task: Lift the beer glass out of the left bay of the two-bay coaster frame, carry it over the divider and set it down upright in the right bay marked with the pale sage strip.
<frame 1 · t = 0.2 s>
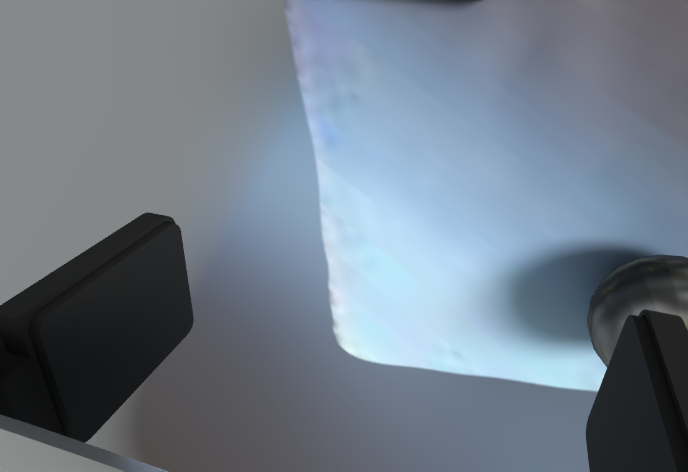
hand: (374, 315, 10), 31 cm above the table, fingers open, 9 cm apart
decorative stone: (651, 285, 40), on the table
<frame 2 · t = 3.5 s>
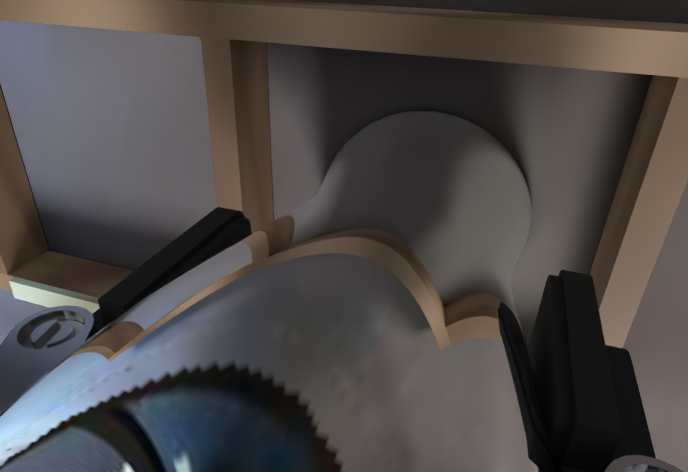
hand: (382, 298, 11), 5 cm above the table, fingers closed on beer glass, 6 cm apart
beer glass: (423, 208, 15), resting in coaster frame, touching gripper
coaster frame: (261, 184, 16), on the table
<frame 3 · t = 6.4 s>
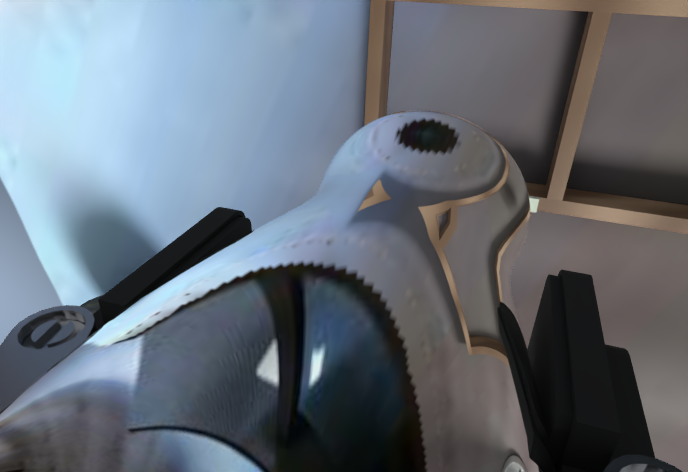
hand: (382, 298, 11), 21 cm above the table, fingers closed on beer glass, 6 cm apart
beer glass: (422, 207, 15), point 16 cm above the table, touching gripper
coaster frame: (573, 105, 27), on the table
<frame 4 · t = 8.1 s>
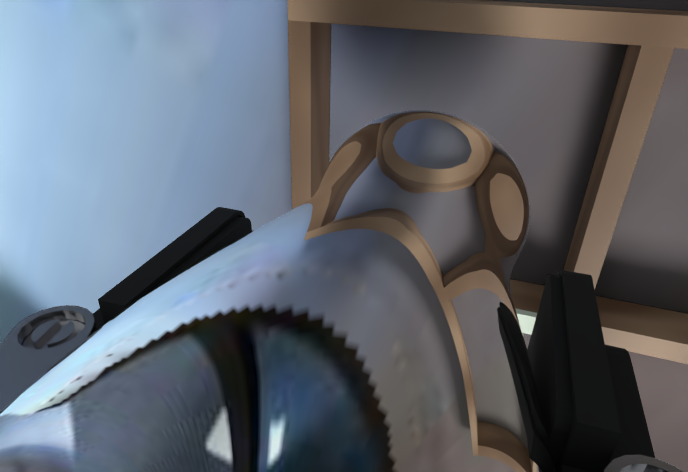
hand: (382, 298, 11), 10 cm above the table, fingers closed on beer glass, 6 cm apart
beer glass: (422, 207, 15), point 5 cm above the table, touching gripper
coaster frame: (601, 180, 18), on the table
when the fingers open (6 cm above the table, at t = 9.5 s): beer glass drops 1 cm, resting in coaster frame.
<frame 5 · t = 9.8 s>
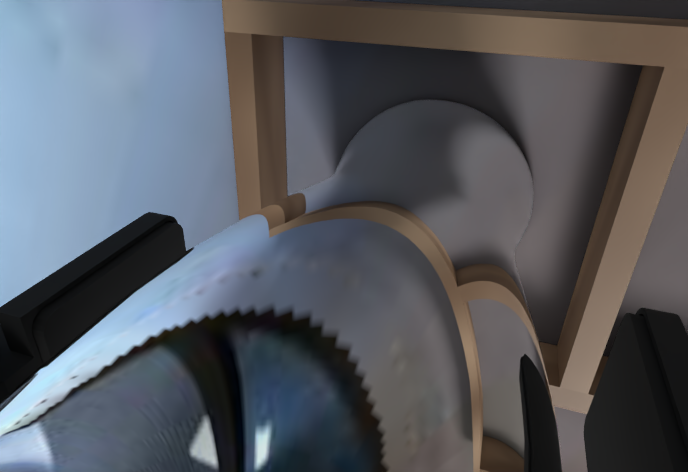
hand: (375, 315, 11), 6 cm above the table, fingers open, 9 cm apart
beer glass: (432, 192, 16), resting in coaster frame
coaster frame: (609, 224, 15), on the table
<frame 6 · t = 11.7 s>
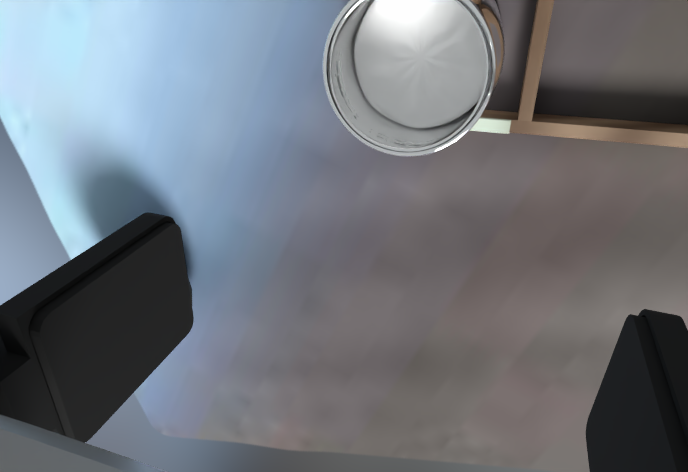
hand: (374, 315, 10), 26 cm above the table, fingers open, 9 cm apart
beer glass: (450, 30, 32), resting in coaster frame
coaster frame: (538, 34, 30), on the table
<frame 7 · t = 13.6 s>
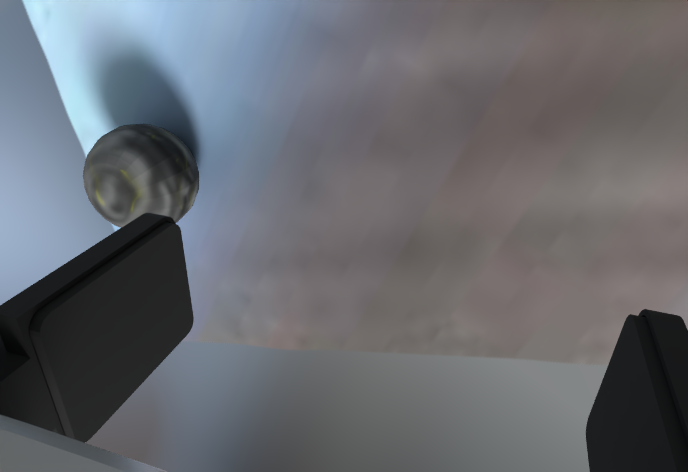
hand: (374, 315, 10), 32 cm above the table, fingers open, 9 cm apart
decorative stone: (176, 160, 51), on the table
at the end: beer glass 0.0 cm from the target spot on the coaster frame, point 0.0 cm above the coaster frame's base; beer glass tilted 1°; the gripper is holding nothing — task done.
